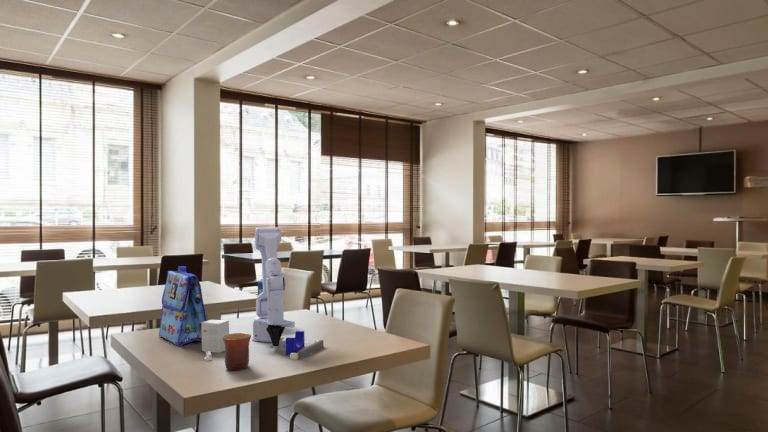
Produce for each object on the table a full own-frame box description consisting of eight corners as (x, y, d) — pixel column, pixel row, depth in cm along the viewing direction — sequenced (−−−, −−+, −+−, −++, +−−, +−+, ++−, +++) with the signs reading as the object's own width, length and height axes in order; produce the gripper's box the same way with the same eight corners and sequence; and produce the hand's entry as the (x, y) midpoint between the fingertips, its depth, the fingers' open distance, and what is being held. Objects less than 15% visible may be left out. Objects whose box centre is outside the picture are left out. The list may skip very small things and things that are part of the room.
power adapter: (213, 361, 174) (213, 351, 174) (205, 362, 173) (205, 353, 173) (208, 359, 177) (208, 350, 177) (201, 360, 175) (201, 351, 175)
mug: (248, 371, 161) (248, 338, 161) (219, 372, 160) (219, 339, 160) (255, 361, 173) (254, 330, 173) (228, 362, 172) (228, 331, 172)
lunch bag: (157, 336, 209) (157, 265, 209) (191, 331, 218) (191, 263, 218) (176, 347, 192) (176, 269, 192) (212, 341, 201) (211, 266, 201)
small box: (229, 349, 188) (229, 320, 188) (220, 353, 183) (219, 323, 183) (211, 347, 191) (211, 319, 191) (201, 351, 186) (201, 322, 186)
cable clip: (292, 346, 192) (292, 330, 192) (304, 347, 192) (304, 331, 192) (281, 355, 180) (281, 338, 180) (294, 355, 180) (293, 338, 180)
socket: (290, 358, 175) (290, 351, 175) (316, 345, 193) (316, 338, 193) (299, 359, 174) (299, 352, 174) (324, 346, 192) (324, 339, 192)
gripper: (252, 309, 187) (252, 347, 187) (287, 311, 182) (287, 350, 182) (262, 306, 193) (263, 342, 193) (297, 308, 188) (297, 345, 188)
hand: (275, 346), depth 188 cm, fingers closed
